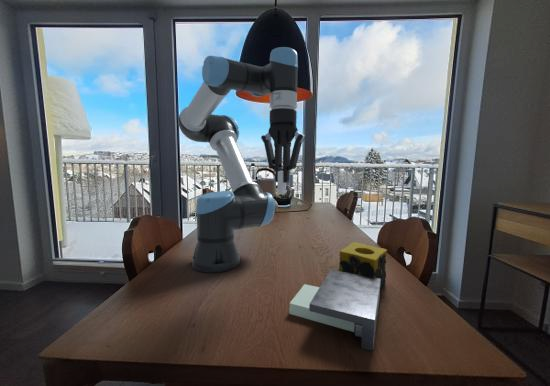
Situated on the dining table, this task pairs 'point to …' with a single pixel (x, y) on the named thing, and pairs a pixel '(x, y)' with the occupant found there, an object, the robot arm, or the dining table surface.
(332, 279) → the riser
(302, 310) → the mint green panel
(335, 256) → the dining table surface
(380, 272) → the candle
